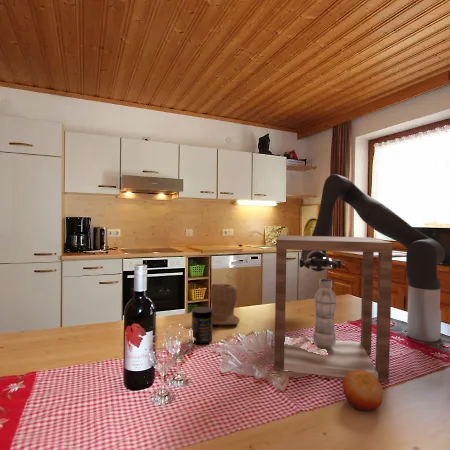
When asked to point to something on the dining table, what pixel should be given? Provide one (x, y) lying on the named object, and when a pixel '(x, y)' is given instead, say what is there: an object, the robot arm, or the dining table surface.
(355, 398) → the fruit
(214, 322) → the brown ankle boot
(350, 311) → the dining table surface
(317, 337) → the plastic bottle
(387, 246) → the walnut shelf
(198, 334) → the supplement container
